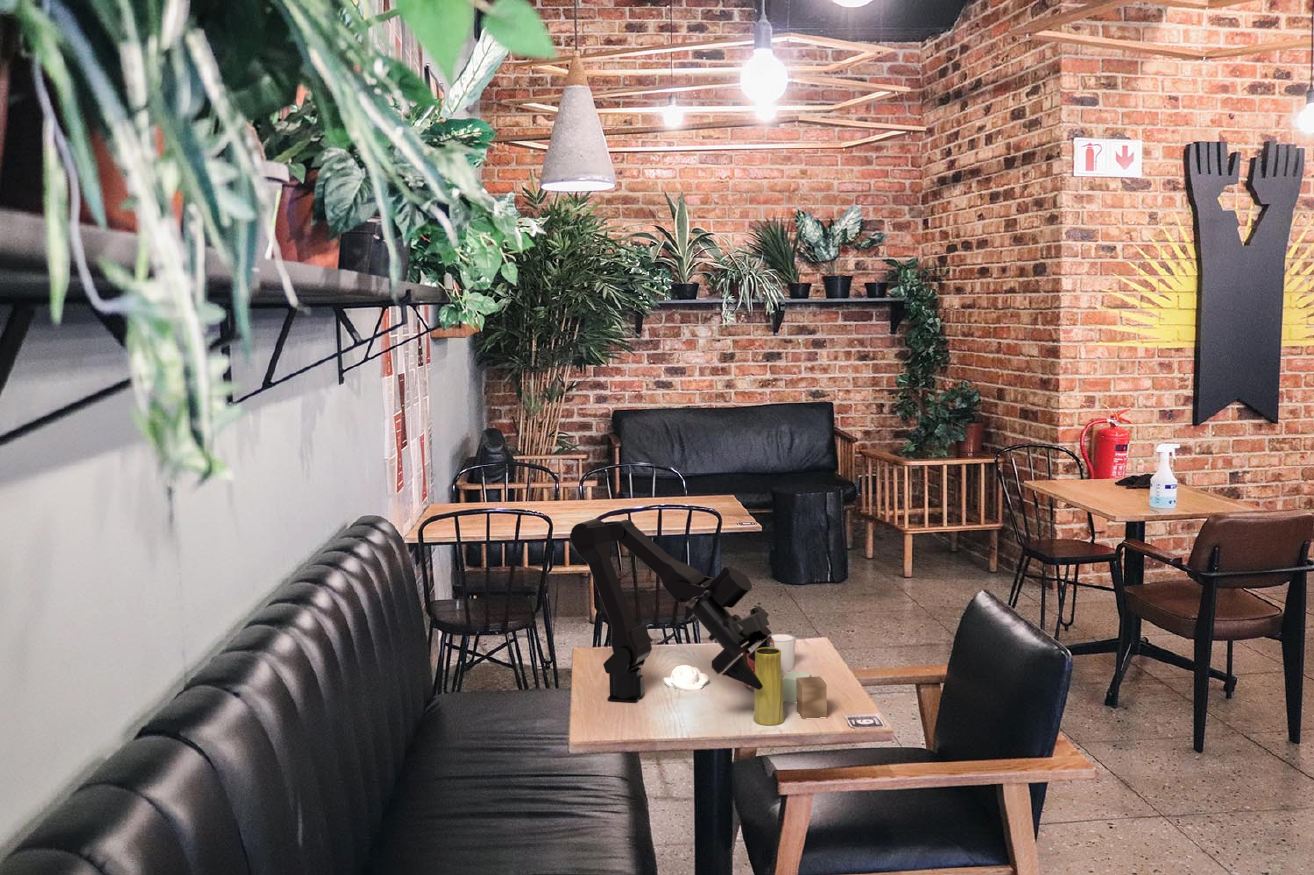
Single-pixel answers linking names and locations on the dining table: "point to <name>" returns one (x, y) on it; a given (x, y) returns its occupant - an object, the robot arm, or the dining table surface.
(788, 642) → the white cup
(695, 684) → the rose
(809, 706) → the walnut block
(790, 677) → the sage block
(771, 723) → the vase
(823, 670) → the dining table surface
